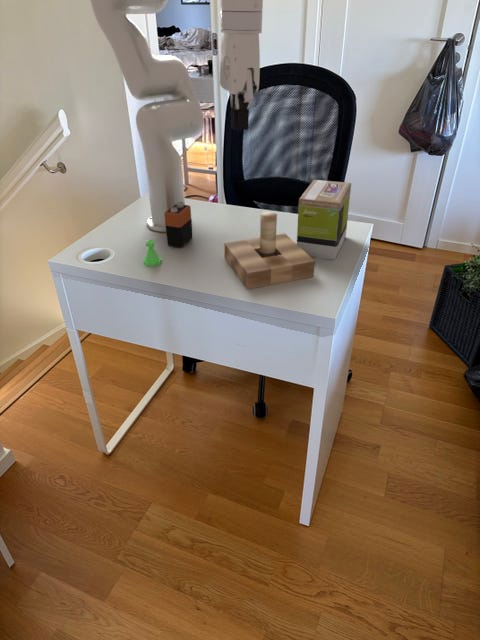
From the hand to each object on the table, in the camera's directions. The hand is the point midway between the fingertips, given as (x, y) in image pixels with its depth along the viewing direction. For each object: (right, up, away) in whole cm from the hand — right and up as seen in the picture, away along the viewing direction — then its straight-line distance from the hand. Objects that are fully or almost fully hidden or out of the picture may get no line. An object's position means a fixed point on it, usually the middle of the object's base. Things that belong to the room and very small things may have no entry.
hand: (239, 128), depth 95 cm
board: (+7, -27, +14) cm, 31 cm away
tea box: (+21, -20, +24) cm, 38 cm away
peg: (+6, -27, +14) cm, 31 cm away
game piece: (-21, -25, +17) cm, 37 cm away
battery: (-16, -19, +26) cm, 36 cm away
